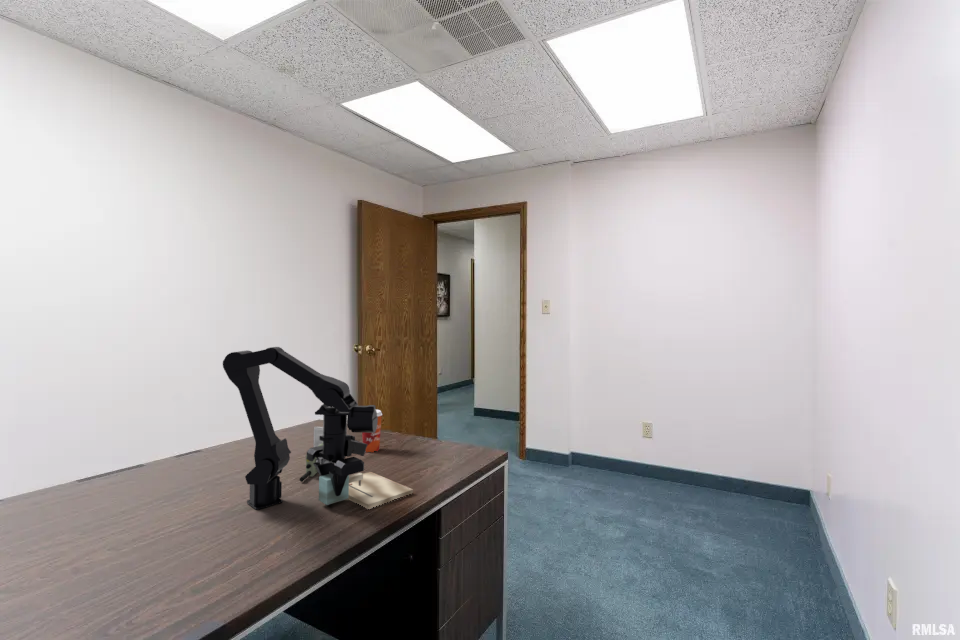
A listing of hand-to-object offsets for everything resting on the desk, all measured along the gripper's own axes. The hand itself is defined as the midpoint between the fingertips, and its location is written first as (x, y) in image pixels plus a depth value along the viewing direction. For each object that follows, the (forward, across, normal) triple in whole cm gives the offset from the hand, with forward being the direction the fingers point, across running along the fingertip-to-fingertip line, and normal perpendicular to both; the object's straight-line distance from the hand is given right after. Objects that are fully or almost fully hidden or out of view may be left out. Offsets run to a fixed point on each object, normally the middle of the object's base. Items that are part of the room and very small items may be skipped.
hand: (333, 493), depth 114 cm
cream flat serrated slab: (+3, +1, -11) cm, 11 cm away
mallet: (+1, 0, -2) cm, 3 cm away
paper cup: (+3, +33, -33) cm, 47 cm away
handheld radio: (+3, +28, -10) cm, 30 cm away
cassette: (+3, +45, -23) cm, 51 cm away
